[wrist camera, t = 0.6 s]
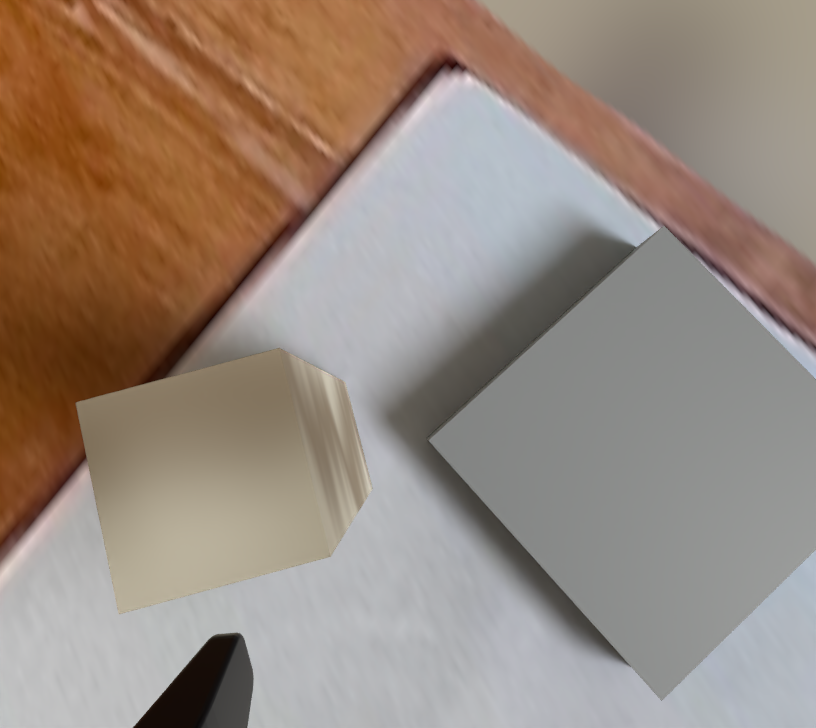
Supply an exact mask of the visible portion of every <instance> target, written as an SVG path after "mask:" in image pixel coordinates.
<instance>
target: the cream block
mask: <svg viewBox="0 0 816 728" xmlns="http://www.w3.org/2000/svg"><path fill="white" fill-rule="evenodd" d="M76 407H77V412H78V417H79V422H80V427H81V432H82V436H83V441H84V446H85V451H86V456H87V461H88V466H89V471H90V476H91V481H92V485H93V490H94V495H95V500H96V505H97V510H98V515H99V520H100V525H101V530H102V534H103V539H104V544H105V549H106V554H107V559H108V564H109V569H110V574H111V578H112V583H113V588H114V593H115V598H116V603H117V608H118V613H119V614H122V613H125V612H129V611H133V610H136V609H140V608H144V607H147V606H151V605H155V604H158V603H162V602H166V601H169V600H173V599H177V598H180V597H184V596H188V595H191V594H195V593H199V592H202V591H206V590H210V589H213V588H217V587H221V586H224V585H228V584H232V583H235V582H239V581H243V580H246V579H250V578H254V577H257V576H261V575H265V574H268V573H272V572H276V571H279V570H283V569H287V568H290V567H294V566H298V565H302V564H305V563H309V562H313V561H316V560H320V559H324V558H327V557H331V555H332V553H333V552H334V550H335V549H336V547H337V545H338V544H339V542H340V541H341V539H342V537H343V536H344V534H345V532H346V531H347V529H348V528H349V526H350V524H351V523H352V521H353V520H354V518H355V516H356V515H357V513H358V511H359V510H360V508H361V507H362V505H363V503H364V502H365V500H366V499H367V497H368V495H369V494H370V492H371V490H372V489H373V488H372V484H371V480H370V476H369V472H368V469H367V465H366V461H365V457H364V453H363V449H362V445H361V441H360V437H359V434H358V430H357V426H356V422H355V418H354V414H353V410H352V406H351V402H350V399H349V395H348V391H347V387H346V383H345V382H344V381H342V380H340V379H338V378H336V377H334V376H332V375H330V374H328V373H326V372H325V371H323V370H321V369H319V368H317V367H315V366H313V365H311V364H309V363H307V362H305V361H303V360H301V359H300V358H298V357H296V356H294V355H292V354H290V353H288V352H286V351H284V350H282V349H280V348H277V349H274V350H270V351H266V352H263V353H259V354H255V355H251V356H248V357H244V358H240V359H236V360H233V361H229V362H225V363H221V364H218V365H214V366H210V367H206V368H203V369H199V370H195V371H191V372H188V373H184V374H180V375H176V376H173V377H169V378H165V379H162V380H158V381H154V382H150V383H147V384H143V385H139V386H135V387H132V388H128V389H124V390H120V391H117V392H113V393H109V394H105V395H102V396H98V397H94V398H90V399H87V400H83V401H79V402H76Z"/></svg>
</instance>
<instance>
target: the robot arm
mask: <svg viewBox="0 0 816 728" xmlns="http://www.w3.org/2000/svg"><path fill="white" fill-rule="evenodd" d="M252 691H253V669H252V666H251V662H250V658H249V655H248V651H247V647H246V644H245V640H244V638H243V636H242V635H241V634H240V633H227V634H217V635H214V636H212V637H211V638H210V639H209V640H208V641H207V642H206V643H205V644H204V646H203V647H202V648H201V649H200V650H199V651H198V653H197V654H196V655H195V656H194V657H193V658H192V660H191V661H190V662H189V663H188V664H187V665H186V667H185V668H184V669H183V670H182V671H181V672H180V674H179V675H178V676H177V677H176V678H175V679H174V681H173V682H172V683H171V684H170V685H169V686H168V688H167V689H166V690H165V691H164V692H163V693H162V695H161V696H160V697H159V698H158V699H157V700H156V702H155V703H154V704H153V705H152V706H151V707H150V709H149V710H148V711H147V712H146V713H145V714H144V716H143V717H142V718H141V719H140V720H139V721H138V723H137V724H136V725H135V726H134V727H133V728H247V726H248V719H249V712H250V705H251V698H252Z"/></svg>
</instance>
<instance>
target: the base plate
mask: <svg viewBox="0 0 816 728" xmlns="http://www.w3.org/2000/svg"><path fill="white" fill-rule="evenodd" d="M427 439H428V441H429V442H430V443H431V444H432V445H433V446H434V447H435V449H436V450H437V451H438V452H439V453H440V454H441V455H442V456H443V458H444V459H445V460H446V461H447V462H448V463H449V464H450V465H451V466H452V468H453V469H454V470H455V471H456V472H457V473H458V474H459V475H460V476H461V478H462V479H463V480H464V481H465V482H466V483H467V484H468V485H469V487H470V488H471V489H472V490H473V491H474V492H475V493H476V494H477V495H478V497H479V498H480V499H481V500H482V501H483V502H484V503H485V504H486V505H487V507H488V508H489V509H490V510H491V511H492V512H493V513H494V514H495V516H496V517H497V518H498V519H499V520H500V521H501V522H502V523H503V524H504V526H505V527H506V528H507V529H508V530H509V531H510V532H511V533H512V534H513V536H514V537H515V538H516V539H517V540H518V541H519V542H520V543H521V544H522V546H523V547H524V548H525V549H526V550H527V551H528V552H529V553H530V555H531V556H532V557H533V558H534V559H535V560H536V561H537V562H538V563H539V565H540V566H541V567H542V568H543V569H544V570H545V571H546V572H547V573H548V575H549V576H550V577H551V578H552V579H553V580H554V581H555V582H556V584H557V585H558V586H559V587H560V588H561V589H562V590H563V591H564V592H565V594H566V595H567V596H568V597H569V598H570V599H571V600H572V601H573V602H574V604H575V605H576V606H577V607H578V608H579V609H580V610H581V611H582V613H583V614H584V615H585V616H586V617H587V618H588V619H589V620H590V621H591V623H592V624H593V625H594V626H595V627H596V628H597V629H598V630H599V631H600V633H601V634H602V635H603V636H604V637H605V638H606V639H607V640H608V642H609V643H610V644H611V645H612V646H613V647H614V648H615V649H616V650H617V652H618V653H619V654H620V655H621V656H622V657H623V658H624V659H625V660H626V662H627V663H628V664H629V665H630V666H631V667H632V668H633V669H634V671H635V672H636V673H637V674H638V675H639V676H640V677H641V678H642V679H643V681H644V682H645V683H646V684H647V685H648V686H649V687H650V688H651V689H652V691H653V692H654V693H655V694H656V695H657V696H658V697H659V698H660V700H661V701H662V700H663V699H664V698H665V697H666V696H667V695H668V694H669V693H670V692H671V691H672V690H673V689H674V688H675V687H676V686H677V685H678V684H679V683H680V682H681V681H682V680H683V679H684V678H685V677H686V676H687V675H688V674H689V673H690V672H691V671H692V670H693V669H695V668H696V667H697V666H698V665H699V664H700V663H701V662H702V661H703V660H704V659H705V658H706V657H707V656H708V655H709V654H710V653H711V652H712V651H713V650H714V649H715V648H716V647H717V646H718V645H719V644H720V643H721V642H722V641H723V640H724V639H725V638H726V637H727V636H728V635H729V634H730V633H731V632H732V631H733V630H734V629H735V628H736V627H737V626H738V625H739V624H740V623H741V622H742V621H743V620H744V619H746V618H747V617H748V616H749V615H750V614H751V613H752V612H753V611H754V610H755V609H756V608H757V607H758V606H759V605H760V604H761V603H762V602H763V601H764V600H765V599H766V598H767V597H768V596H769V595H770V594H771V593H772V592H773V591H774V590H775V589H776V588H777V587H778V586H779V585H780V584H781V583H782V582H783V581H784V580H785V579H786V578H787V577H788V576H789V575H790V574H791V573H792V572H793V571H794V570H796V569H797V568H798V567H799V566H800V565H801V564H802V563H803V562H804V561H805V560H806V559H807V558H808V557H809V556H810V555H811V554H812V553H813V552H814V551H815V550H816V379H815V378H814V377H813V376H812V375H811V374H810V373H809V372H808V371H807V370H806V369H805V368H804V367H803V366H802V365H801V364H800V363H799V362H798V361H797V360H796V359H795V358H794V357H793V356H792V355H791V354H790V353H789V352H788V351H787V350H786V349H785V348H784V347H783V346H782V345H781V344H780V343H779V342H778V341H777V340H776V339H775V338H774V337H773V336H772V334H771V333H770V332H769V331H768V330H767V329H766V328H765V327H764V326H763V325H762V324H761V323H760V322H759V321H758V320H757V319H756V318H755V317H754V316H753V315H752V314H751V313H750V312H749V311H748V310H747V309H746V308H745V307H744V306H743V305H742V304H741V303H740V302H739V301H738V300H737V299H736V298H735V297H734V296H733V295H732V294H731V293H730V292H729V291H728V290H727V289H726V288H725V287H724V286H723V285H722V284H721V283H720V282H719V281H718V280H717V279H716V278H715V277H714V276H713V275H712V274H711V273H710V272H709V271H708V270H707V269H706V268H705V267H704V266H703V265H702V264H701V263H700V262H699V261H698V260H697V259H696V258H695V257H694V256H693V255H692V254H691V253H690V252H689V251H688V250H687V249H686V248H685V247H684V246H683V245H682V244H681V243H680V242H679V241H678V240H677V239H676V237H675V236H674V235H673V234H672V233H671V232H670V231H669V230H668V229H667V228H666V227H665V226H663V227H662V228H661V229H659V230H658V231H657V232H656V233H654V234H653V235H652V236H650V237H649V238H648V239H647V240H645V241H644V242H643V243H641V244H640V245H639V246H638V247H636V248H635V249H634V250H633V251H632V252H631V253H630V254H629V255H628V256H627V257H625V258H624V259H623V260H622V261H621V262H620V263H619V264H618V265H617V266H616V267H614V268H613V269H612V270H611V271H610V272H609V273H608V274H607V275H606V276H605V277H603V278H602V279H601V280H600V281H599V282H598V283H597V284H596V285H595V286H594V287H592V288H591V289H590V290H589V291H588V292H587V293H586V294H585V295H584V296H583V297H582V298H580V299H579V300H578V301H577V302H576V303H575V304H574V305H573V306H572V307H571V308H569V309H568V310H567V311H566V312H565V313H564V314H563V315H562V316H561V317H560V318H558V319H557V320H556V321H555V322H554V323H553V324H552V325H551V326H550V327H549V328H547V329H546V330H545V331H544V332H543V333H542V334H541V335H540V336H539V337H538V338H537V339H535V340H534V341H533V342H532V343H531V344H530V345H529V346H528V347H527V348H526V349H524V350H523V351H522V352H521V353H520V354H519V355H518V356H517V357H516V358H515V359H513V360H512V361H511V362H510V363H509V364H508V365H507V366H506V367H505V368H504V369H502V370H501V371H500V372H499V373H498V374H497V375H496V376H495V377H494V378H493V379H492V380H490V381H489V382H488V383H487V384H486V385H485V386H484V387H483V388H482V389H481V390H479V391H478V392H477V393H476V394H475V395H474V396H473V397H472V398H471V399H470V400H468V401H467V402H466V403H465V404H464V405H463V406H462V407H461V408H460V409H459V410H457V411H456V412H455V413H454V414H453V415H452V416H451V417H450V418H449V419H448V420H446V421H445V422H444V423H443V424H442V425H441V426H440V427H439V428H438V429H437V430H436V431H434V432H433V433H432V434H431V435H430V436H429V437H428V438H427Z"/></svg>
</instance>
